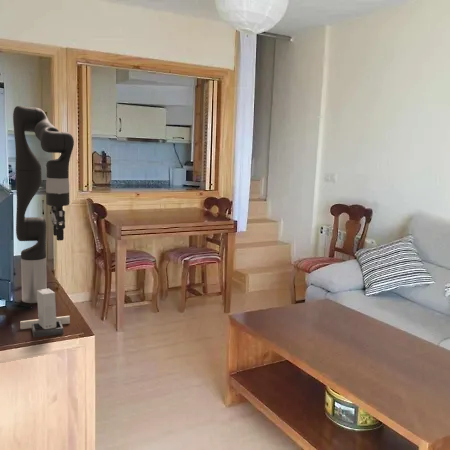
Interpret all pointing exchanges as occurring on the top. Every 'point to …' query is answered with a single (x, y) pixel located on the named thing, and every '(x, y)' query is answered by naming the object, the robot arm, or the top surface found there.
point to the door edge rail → (29, 323)
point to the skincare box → (46, 308)
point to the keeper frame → (47, 330)
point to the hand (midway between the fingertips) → (58, 237)
